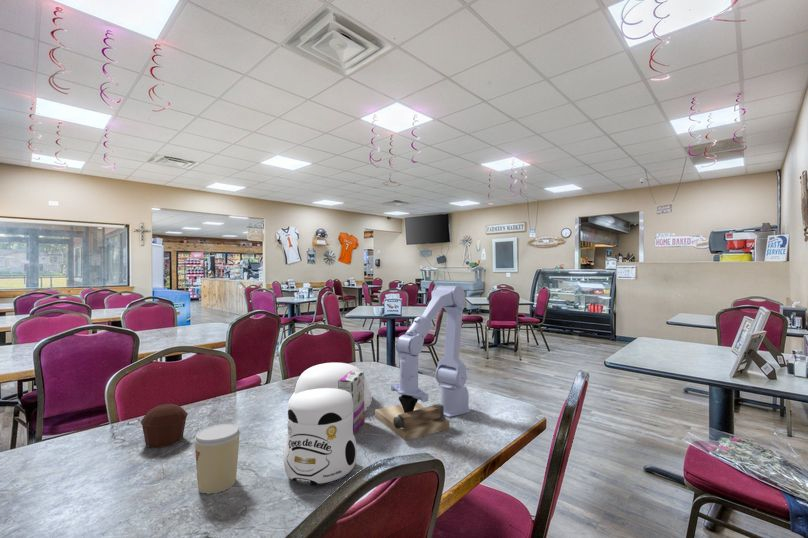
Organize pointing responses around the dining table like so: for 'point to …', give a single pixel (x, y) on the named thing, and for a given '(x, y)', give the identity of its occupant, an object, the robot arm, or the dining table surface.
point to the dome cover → (328, 378)
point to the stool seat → (414, 431)
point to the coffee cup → (217, 457)
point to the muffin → (164, 425)
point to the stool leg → (419, 416)
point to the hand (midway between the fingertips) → (408, 419)
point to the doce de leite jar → (320, 436)
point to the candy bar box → (355, 395)
